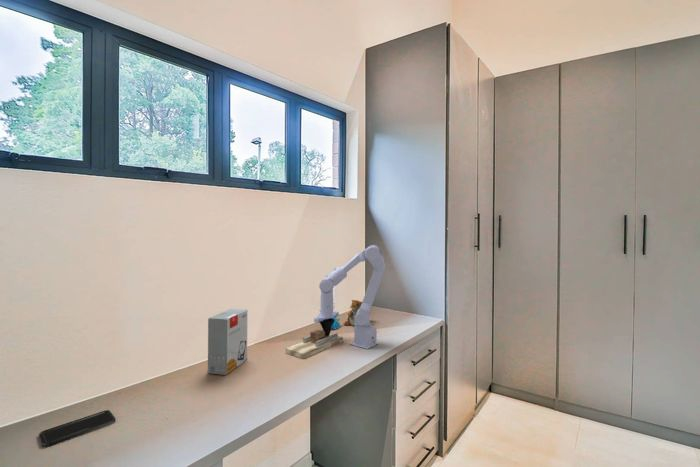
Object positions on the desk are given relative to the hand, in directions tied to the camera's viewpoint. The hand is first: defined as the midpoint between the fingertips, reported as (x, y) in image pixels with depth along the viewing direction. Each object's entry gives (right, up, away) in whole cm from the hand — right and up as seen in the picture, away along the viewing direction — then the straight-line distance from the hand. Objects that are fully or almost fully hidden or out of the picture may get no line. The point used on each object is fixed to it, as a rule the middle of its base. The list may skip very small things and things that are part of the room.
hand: (326, 335), depth 157 cm
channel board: (-4, -3, -6) cm, 8 cm away
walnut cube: (-4, -1, -5) cm, 6 cm away
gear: (+1, -3, +22) cm, 22 cm away
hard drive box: (-35, -4, -26) cm, 44 cm away
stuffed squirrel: (+14, -3, +29) cm, 32 cm away
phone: (-60, -6, -66) cm, 90 cm away
